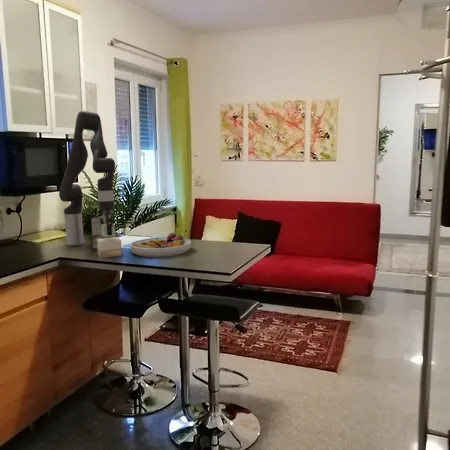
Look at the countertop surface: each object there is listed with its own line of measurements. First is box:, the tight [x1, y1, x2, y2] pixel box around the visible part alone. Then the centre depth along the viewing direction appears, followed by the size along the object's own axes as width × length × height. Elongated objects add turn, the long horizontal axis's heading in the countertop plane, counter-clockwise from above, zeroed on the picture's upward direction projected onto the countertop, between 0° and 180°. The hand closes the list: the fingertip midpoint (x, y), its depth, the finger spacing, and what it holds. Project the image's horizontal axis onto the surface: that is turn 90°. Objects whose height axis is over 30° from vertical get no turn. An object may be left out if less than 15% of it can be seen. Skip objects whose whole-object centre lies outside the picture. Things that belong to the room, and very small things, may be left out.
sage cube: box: [101, 223, 116, 238], centre depth 226 cm, size 6×6×6 cm
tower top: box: [97, 236, 123, 250], centre depth 227 cm, size 10×10×4 cm
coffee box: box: [90, 216, 112, 249], centre depth 247 cm, size 9×6×16 cm
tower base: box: [96, 247, 123, 259], centre depth 227 cm, size 10×10×4 cm
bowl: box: [129, 232, 192, 258], centre depth 231 cm, size 30×30×8 cm
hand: (108, 234), depth 227 cm, fingers closed on sage cube, 5 cm apart
